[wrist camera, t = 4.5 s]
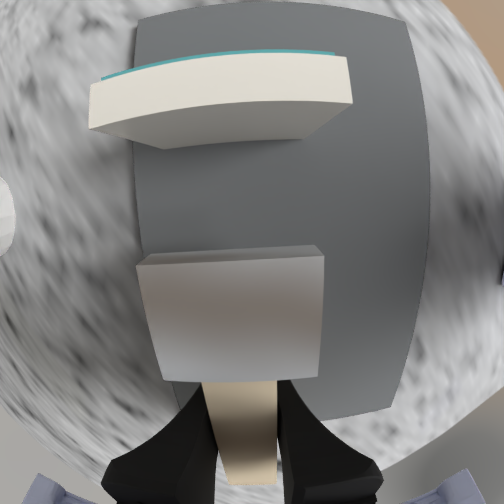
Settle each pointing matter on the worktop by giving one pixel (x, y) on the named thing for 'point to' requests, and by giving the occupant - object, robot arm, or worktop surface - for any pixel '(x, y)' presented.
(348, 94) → the tile
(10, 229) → the white cup
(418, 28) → the worktop surface
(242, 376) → the turner
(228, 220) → the mat
